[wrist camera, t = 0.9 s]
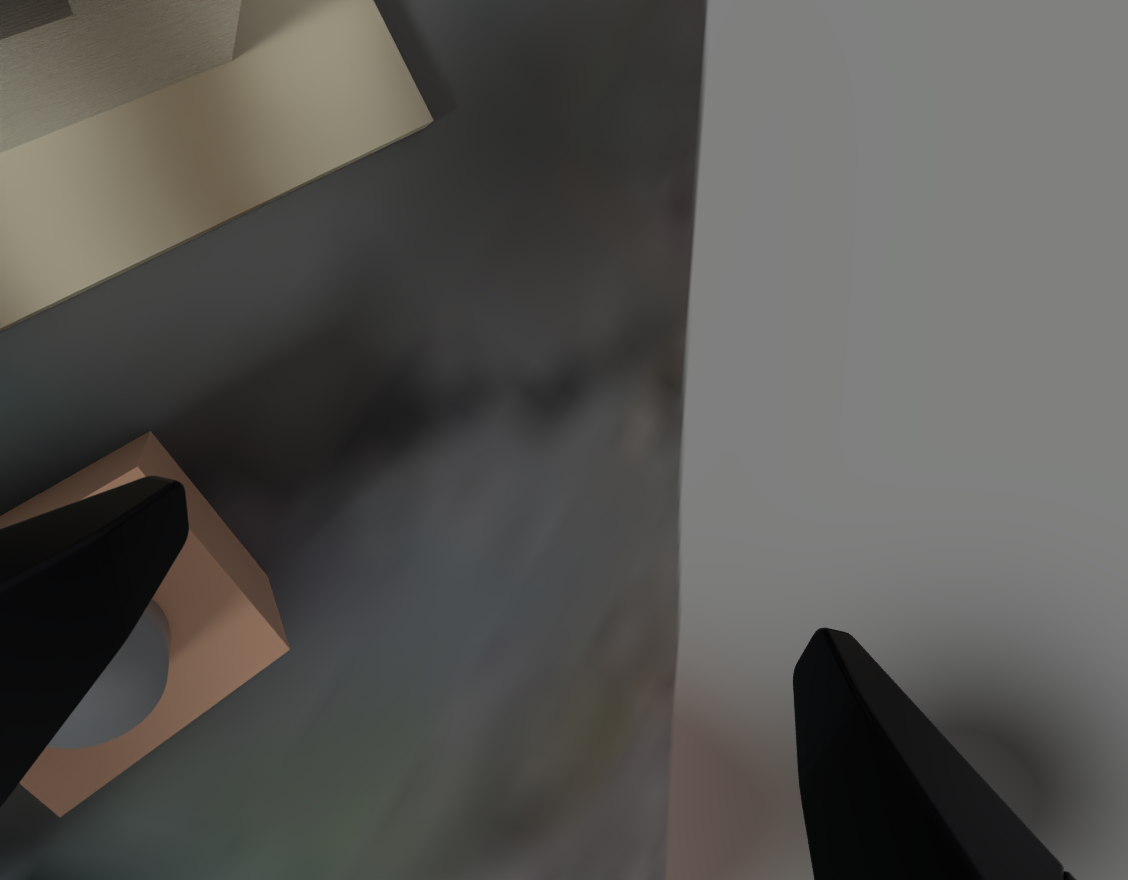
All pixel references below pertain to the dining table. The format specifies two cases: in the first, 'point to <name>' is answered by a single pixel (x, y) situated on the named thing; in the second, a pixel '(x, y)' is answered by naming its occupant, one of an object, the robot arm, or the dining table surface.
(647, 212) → the dining table surface
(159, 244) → the mounting board
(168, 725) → the brown block with knob
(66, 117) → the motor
